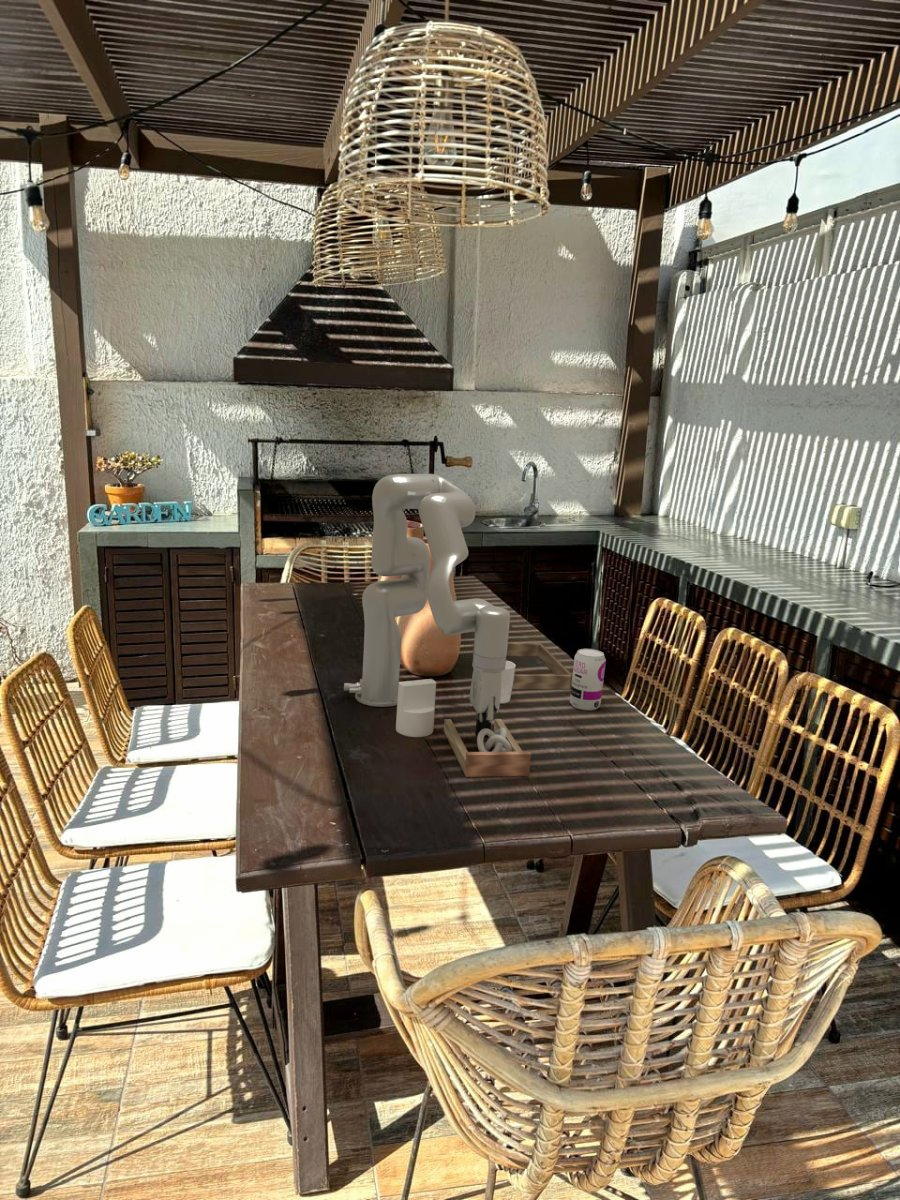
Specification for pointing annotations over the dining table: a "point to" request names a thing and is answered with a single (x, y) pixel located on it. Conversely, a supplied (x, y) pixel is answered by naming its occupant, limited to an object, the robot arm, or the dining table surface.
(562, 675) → the serving tray rim
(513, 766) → the guide channel
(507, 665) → the white cup
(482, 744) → the knot
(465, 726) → the dining table surface
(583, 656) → the supplement can
